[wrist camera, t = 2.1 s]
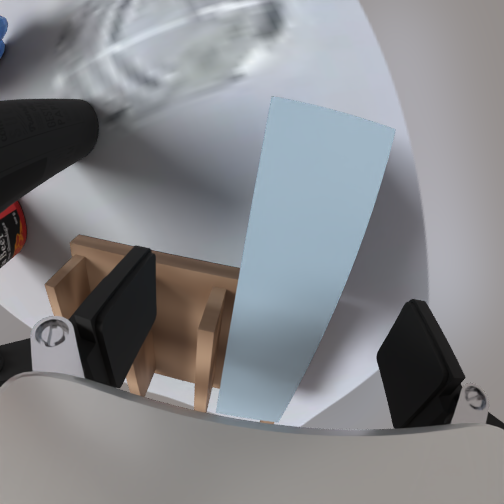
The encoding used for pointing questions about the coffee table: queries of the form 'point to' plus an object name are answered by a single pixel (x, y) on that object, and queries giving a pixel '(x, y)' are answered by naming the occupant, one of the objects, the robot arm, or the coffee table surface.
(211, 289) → the dish rack
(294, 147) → the light blue square slab
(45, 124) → the drinking cup
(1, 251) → the canned food
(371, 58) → the coffee table surface
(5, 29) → the grapes
